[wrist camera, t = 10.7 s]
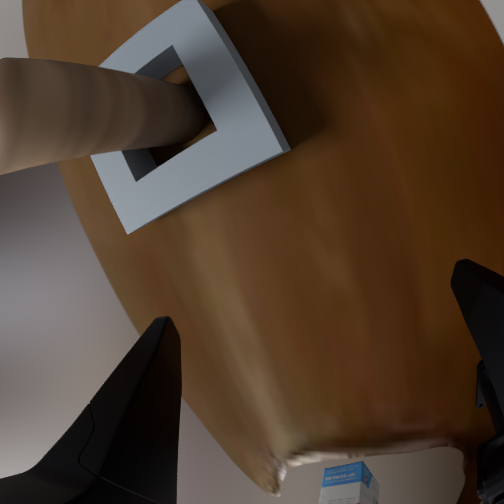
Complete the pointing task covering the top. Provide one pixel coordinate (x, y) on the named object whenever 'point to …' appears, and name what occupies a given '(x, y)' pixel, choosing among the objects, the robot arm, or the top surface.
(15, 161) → the walnut dowel
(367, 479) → the ink box
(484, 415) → the top surface
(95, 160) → the grey socket block
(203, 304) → the top surface
